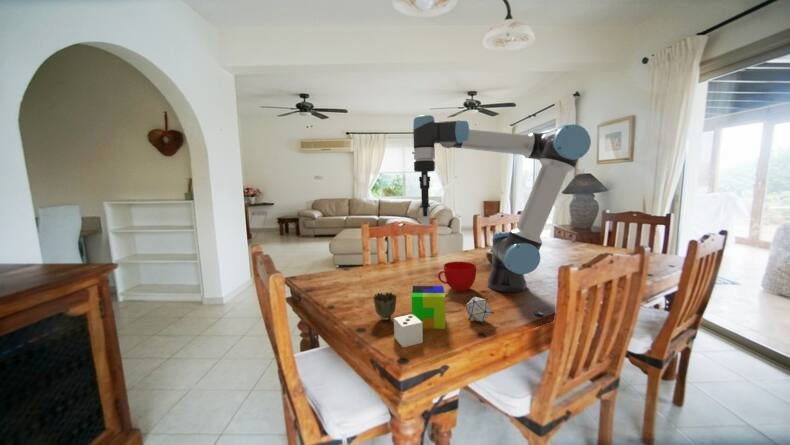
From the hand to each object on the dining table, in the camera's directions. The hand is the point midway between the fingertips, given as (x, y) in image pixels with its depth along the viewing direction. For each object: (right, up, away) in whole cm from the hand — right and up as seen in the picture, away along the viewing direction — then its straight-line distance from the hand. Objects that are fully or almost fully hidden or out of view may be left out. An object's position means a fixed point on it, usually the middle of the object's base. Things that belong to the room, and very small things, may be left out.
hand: (425, 224), depth 114 cm
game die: (+15, -31, -17) cm, 38 cm away
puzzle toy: (-1, -31, -16) cm, 35 cm away
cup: (-14, -31, -14) cm, 37 cm away
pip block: (-8, -32, -28) cm, 43 cm away
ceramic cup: (+14, -27, +11) cm, 32 cm away
